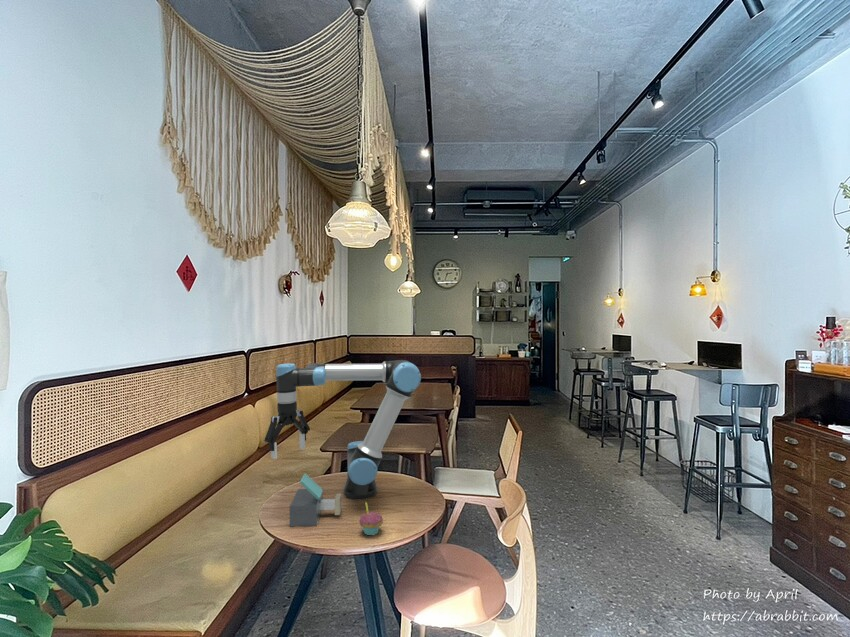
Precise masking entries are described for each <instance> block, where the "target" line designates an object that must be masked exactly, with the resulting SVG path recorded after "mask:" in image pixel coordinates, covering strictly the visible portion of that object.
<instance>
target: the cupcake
mask: <svg viewBox="0 0 850 637" xmlns="http://www.w3.org/2000/svg"><path fill="white" fill-rule="evenodd" d="M365 509H366V510H365V511H366V512H365V513H364V514H362V515H361V516H360V518H359V525H360V527H362V529H363V533H364V535H365V534H367V535H373V534H376V533H377V534H378V532H379V528H380V527H381V526H382V525H383V523H384V521H383V518H382V515H381V514H379V513H378V512H376V511H375V512H374V511H369V507H368V502H367V501H365ZM377 534H376V535H377ZM367 535H366V536H367Z"/></svg>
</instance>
